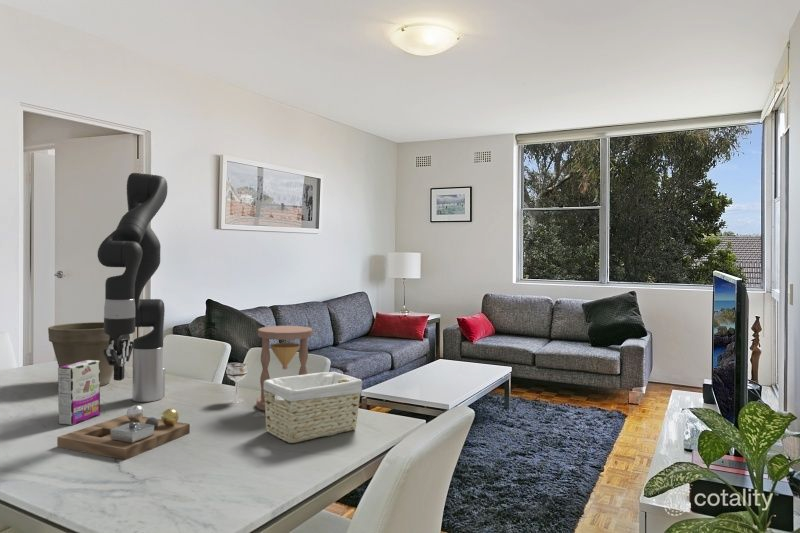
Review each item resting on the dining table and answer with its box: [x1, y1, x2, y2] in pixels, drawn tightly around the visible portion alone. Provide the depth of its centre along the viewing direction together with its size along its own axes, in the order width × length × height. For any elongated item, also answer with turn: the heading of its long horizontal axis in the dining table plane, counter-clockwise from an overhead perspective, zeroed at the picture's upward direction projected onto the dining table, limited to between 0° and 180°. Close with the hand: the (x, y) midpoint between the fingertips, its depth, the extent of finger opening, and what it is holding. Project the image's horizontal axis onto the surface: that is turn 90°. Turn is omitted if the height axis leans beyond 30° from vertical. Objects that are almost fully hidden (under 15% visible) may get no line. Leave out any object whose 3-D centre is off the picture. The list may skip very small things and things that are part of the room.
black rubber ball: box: [145, 416, 158, 429], centre depth 150 cm, size 3×3×3 cm
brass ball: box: [161, 408, 180, 426], centre depth 154 cm, size 4×4×4 cm
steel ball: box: [126, 404, 145, 421], centre depth 157 cm, size 4×4×4 cm
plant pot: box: [47, 321, 114, 387], centre depth 208 cm, size 25×25×22 cm
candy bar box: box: [57, 360, 101, 426], centre depth 165 cm, size 11×5×16 cm, turn 168°
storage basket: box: [263, 371, 363, 444], centre depth 159 cm, size 24×16×15 cm
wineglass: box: [226, 362, 248, 404], centre depth 189 cm, size 7×7×12 cm
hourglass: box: [255, 325, 314, 412], centre depth 185 cm, size 18×18×25 cm
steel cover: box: [110, 422, 154, 443], centre depth 143 cm, size 7×7×3 cm
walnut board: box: [56, 414, 191, 461], centre depth 149 cm, size 22×22×2 cm
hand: (119, 379), depth 153 cm, fingers closed
